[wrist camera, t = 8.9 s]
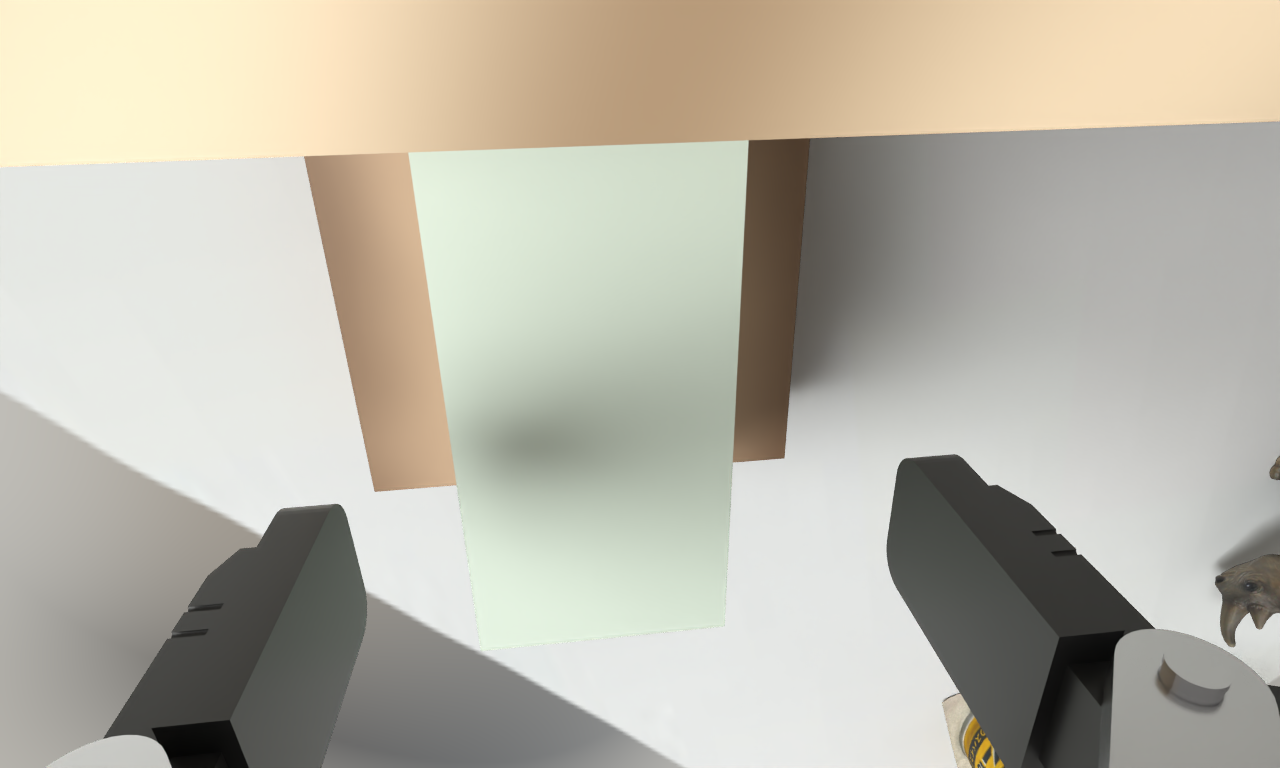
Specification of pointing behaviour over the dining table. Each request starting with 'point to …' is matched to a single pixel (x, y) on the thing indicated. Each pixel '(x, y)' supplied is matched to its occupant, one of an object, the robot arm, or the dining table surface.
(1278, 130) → the dining table surface
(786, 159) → the ledge
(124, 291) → the dining table surface
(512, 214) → the mint green tall box
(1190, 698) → the robot arm
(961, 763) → the condiment
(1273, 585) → the rhino figurine
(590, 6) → the wall board
